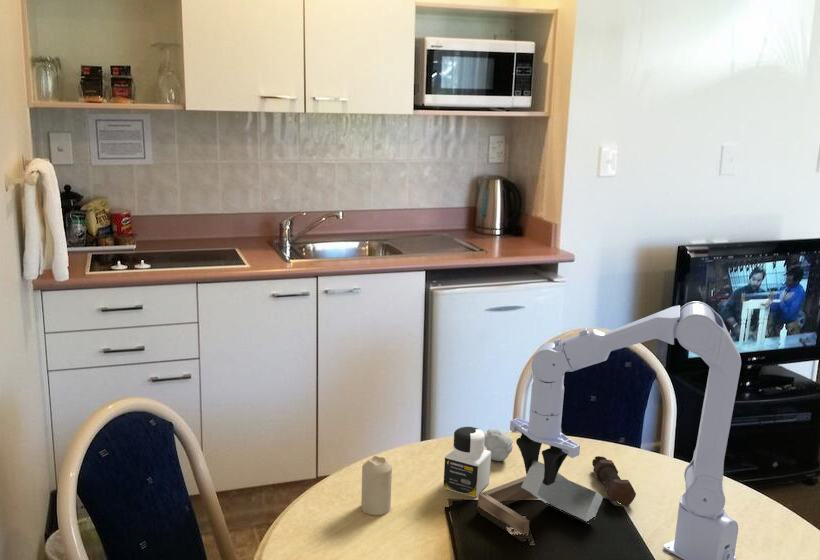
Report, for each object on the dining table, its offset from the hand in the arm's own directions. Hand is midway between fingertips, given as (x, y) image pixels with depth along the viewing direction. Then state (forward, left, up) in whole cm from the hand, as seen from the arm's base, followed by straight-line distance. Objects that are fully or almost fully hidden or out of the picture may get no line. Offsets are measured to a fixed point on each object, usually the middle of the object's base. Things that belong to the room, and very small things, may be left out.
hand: (540, 478), depth 141 cm
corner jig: (+2, -2, -8) cm, 9 cm away
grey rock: (+22, -11, -9) cm, 26 cm away
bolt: (0, -22, -9) cm, 24 cm away
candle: (+20, +22, -9) cm, 31 cm away
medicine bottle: (+17, +2, -9) cm, 19 cm away
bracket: (-3, -2, -5) cm, 6 cm away
